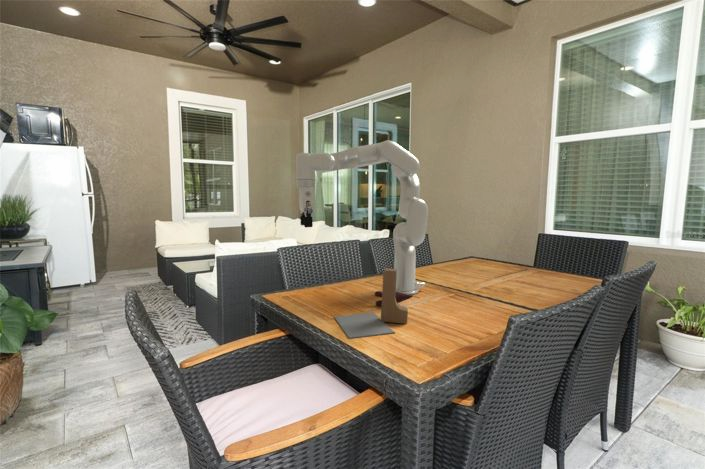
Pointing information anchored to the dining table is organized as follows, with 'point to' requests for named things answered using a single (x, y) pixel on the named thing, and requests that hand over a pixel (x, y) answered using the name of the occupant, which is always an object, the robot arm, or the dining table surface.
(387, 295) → the wooden block
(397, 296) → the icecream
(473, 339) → the dining table surface
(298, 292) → the dining table surface
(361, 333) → the mat
